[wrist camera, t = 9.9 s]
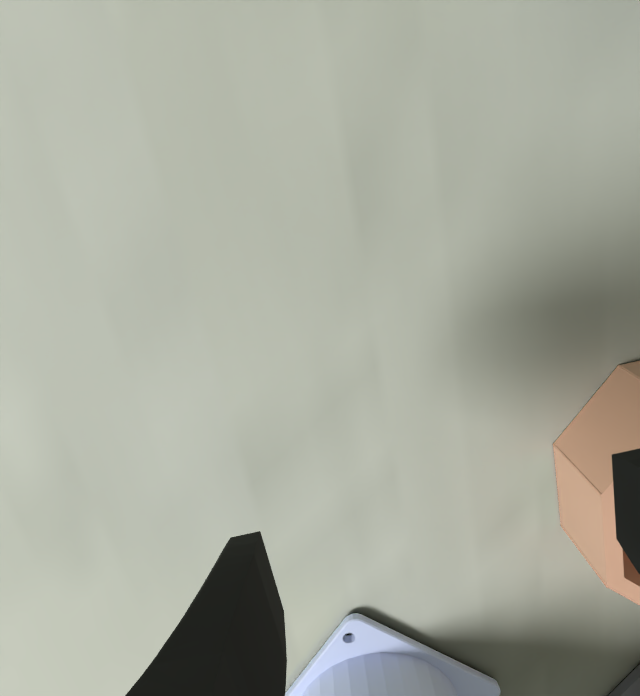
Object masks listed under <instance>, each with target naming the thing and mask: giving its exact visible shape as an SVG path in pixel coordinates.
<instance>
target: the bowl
mask: <svg viewBox="0 0 640 696" xmlns="http://www.w3.org/2000/svg"><path fill="white" fill-rule="evenodd" d="M553 448H554V458H555V469H556V480H557V490H558V501H559V511H560V522H561V527H562V528H563V530H564V531H565V532H566V534H567V535H568V536H569V538H570V539H571V540H572V542H573V543H574V544H575V546H576V547H577V548H578V550H579V551H580V552H581V554H582V555H583V556H584V558H585V559H586V560H587V562H588V563H589V564H590V566H591V567H592V568H593V570H594V571H595V572H596V574H597V575H598V576H599V578H600V579H601V580H602V582H603V583H604V584H605V586H606V587H607V588H609V589H611V590H613V591H615V592H617V593H618V594H620V595H622V596H624V597H626V598H627V599H629V600H631V601H633V602H634V603H636V604H638V605H640V574H639V573H638V571H637V570H636V569H635V567H634V566H633V564H632V563H631V561H630V559H629V558H628V556H627V555H626V553H625V552H624V550H623V548H622V547H621V545H620V544H619V542H618V541H617V539H616V523H615V505H614V488H613V471H612V454H616V453H621V452H625V451H630V450H635V449H639V448H640V361H636V362H631V363H627V364H622V365H618V366H617V368H616V369H615V370H614V371H613V372H612V374H611V375H610V376H609V377H608V378H607V380H606V381H605V382H604V383H603V384H602V386H601V387H600V388H599V389H598V390H597V392H596V393H595V394H594V395H593V397H592V398H591V399H590V400H589V401H588V403H587V404H586V405H585V406H584V407H583V409H582V410H581V411H580V412H579V413H578V415H577V416H576V417H575V418H574V419H573V421H572V422H571V423H570V424H569V426H568V427H567V428H566V429H565V430H564V432H563V433H562V434H561V435H560V436H559V438H558V439H557V440H556V441H555V442H554V443H553Z"/></svg>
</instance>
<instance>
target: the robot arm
mask: <svg viewBox="0 0 640 696" xmlns="http://www.w3.org/2000/svg"><path fill="white" fill-rule="evenodd" d="M612 471H613V488H614V505H615V523H616V539H617V541H618V542H619V544H620V545H621V547H622V548H623V550H624V552H625V553H626V555H627V556H628V558H629V559H630V561H631V563H632V564H633V566H634V567H635V569H636V570H637V571H638V573H639V574H640V448H639V449H635V450H630V451H625V452H621V453H616V454H612ZM346 633H352V634H351V635H348V636H347V635H345V634H346ZM286 665H287V657H286V638H285V623H284V610H283V607H282V603H281V600H280V597H279V593H278V590H277V587H276V583H275V580H274V577H273V573H272V570H271V566H270V563H269V560H268V556H267V553H266V550H265V546H264V543H263V539H262V536H261V533H260V531H259V532H255V533H250V534H245V535H241V536H236V537H232V538H230V540H229V541H228V543H227V544H226V546H225V548H224V549H223V551H222V553H221V554H220V556H219V558H218V560H217V561H216V563H215V565H214V567H213V568H212V570H211V572H210V574H209V575H208V577H207V579H206V580H205V582H204V584H203V586H202V587H201V589H200V591H199V592H198V594H197V595H196V597H195V599H194V600H193V602H192V603H191V605H190V607H189V608H188V610H187V612H186V613H185V615H184V616H183V618H182V619H181V621H180V622H179V624H178V626H177V627H176V628H175V630H174V631H173V633H172V634H171V636H170V637H169V639H168V640H167V641H166V643H165V644H164V646H163V647H162V649H161V650H160V652H159V653H158V654H157V656H156V657H155V659H154V660H153V661H152V663H151V664H150V665H149V667H148V668H147V669H146V671H145V672H144V673H143V675H142V676H141V677H140V678H139V680H138V681H137V682H136V683H135V684H134V686H133V687H132V688H131V689H130V691H129V692H128V693H127V694H126V695H125V696H499V695H500V692H501V690H500V687H499V685H498V683H497V681H496V680H495V679H493V678H491V677H489V676H487V675H485V674H483V673H481V672H479V671H477V670H475V669H473V668H470V667H468V666H466V665H464V664H462V663H460V662H458V661H456V660H454V659H452V658H450V657H448V656H446V655H444V654H442V653H440V652H438V651H436V650H433V649H431V648H429V647H427V646H425V645H423V644H421V643H419V642H417V641H415V640H413V639H411V638H409V637H407V636H405V635H403V634H401V633H399V632H396V631H394V630H392V629H390V628H388V627H386V626H384V625H382V624H380V623H378V622H376V621H374V620H372V619H370V618H368V617H366V616H364V615H361V614H358V613H354V614H350V615H348V616H347V617H345V618H344V620H343V621H342V622H341V623H340V625H339V626H338V627H337V629H336V630H335V631H334V632H333V634H332V635H331V636H330V637H329V639H328V640H327V641H326V642H325V644H324V645H323V646H322V648H321V649H320V650H319V651H318V653H317V654H316V655H315V656H314V658H313V659H312V660H311V661H310V663H309V664H308V665H307V667H306V668H305V669H304V670H303V672H302V673H301V674H300V675H299V677H298V678H297V679H296V680H295V682H294V683H293V684H292V686H291V687H290V688H289V689H288V691H287V692H286V693H285V686H286Z"/></svg>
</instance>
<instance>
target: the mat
mask: <svg viewBox="0 0 640 696" xmlns="http://www.w3.org/2000/svg"><path fill="white" fill-rule="evenodd" d="M608 696H640V664H639V665H638V666H637V667H636V668H635V669H634V670H633V671H632V672H631V673H630V674H629V675H628V676H627V677H626V678H625V679H624V680H623V681H622V682H621V683H620V684H619V685H618V686H617V687H616V688H615V689H614V690H613V691H612V692H611V693H610V694H609V695H608Z"/></svg>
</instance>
